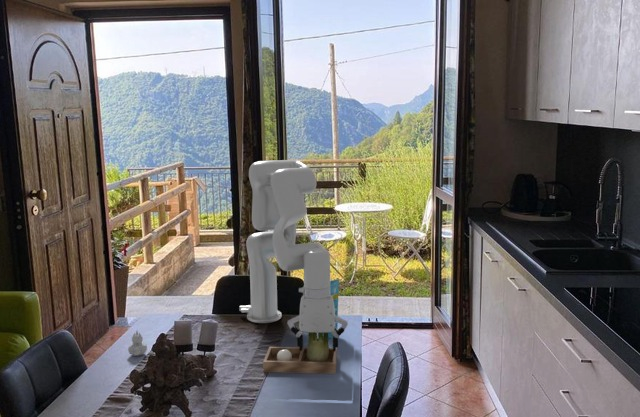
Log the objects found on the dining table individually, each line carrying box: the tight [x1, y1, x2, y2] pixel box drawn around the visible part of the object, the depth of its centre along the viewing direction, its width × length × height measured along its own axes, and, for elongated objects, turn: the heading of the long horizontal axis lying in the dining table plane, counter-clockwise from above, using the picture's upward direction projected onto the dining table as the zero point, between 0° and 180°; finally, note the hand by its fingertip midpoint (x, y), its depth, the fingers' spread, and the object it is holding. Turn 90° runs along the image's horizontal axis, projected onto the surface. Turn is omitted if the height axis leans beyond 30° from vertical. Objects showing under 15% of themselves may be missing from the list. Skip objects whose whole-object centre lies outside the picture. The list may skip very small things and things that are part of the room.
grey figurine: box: [128, 330, 148, 357], centre depth 169 cm, size 5×7×8 cm
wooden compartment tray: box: [262, 346, 338, 375], centre depth 161 cm, size 20×11×4 cm, turn 86°
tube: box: [323, 278, 340, 340], centre depth 182 cm, size 7×5×19 cm, turn 134°
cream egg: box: [277, 349, 292, 361], centre depth 161 cm, size 4×4×4 cm
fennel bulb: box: [307, 333, 330, 362], centre depth 160 cm, size 6×5×12 cm
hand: (317, 349), depth 160 cm, fingers open, 9 cm apart
